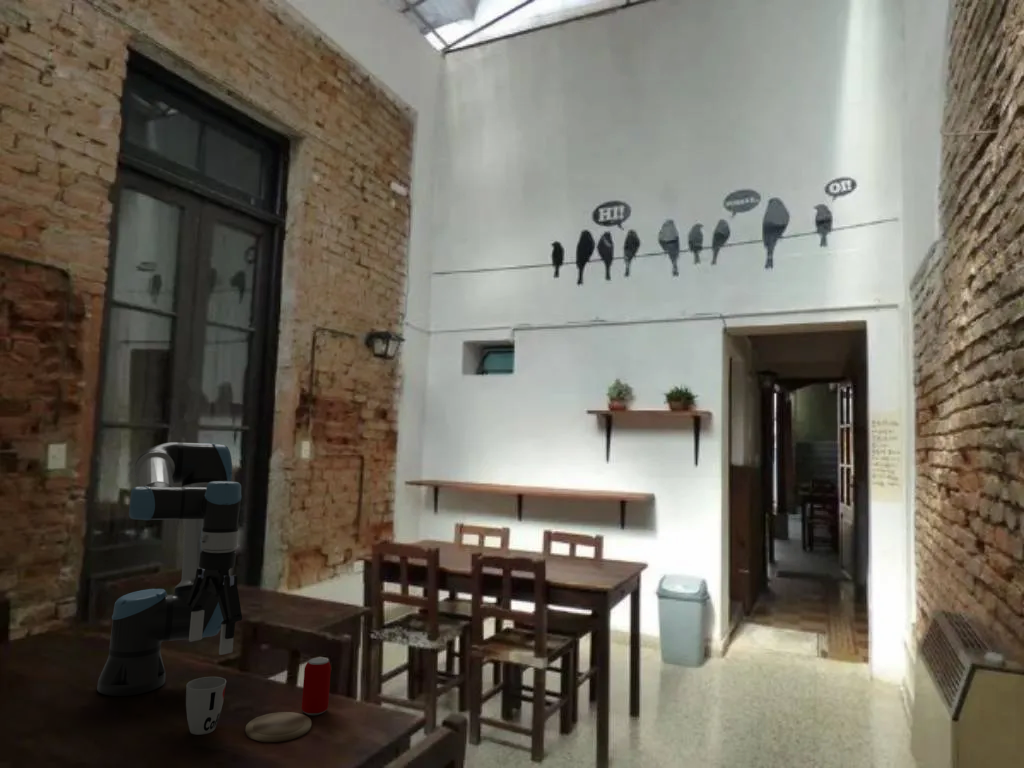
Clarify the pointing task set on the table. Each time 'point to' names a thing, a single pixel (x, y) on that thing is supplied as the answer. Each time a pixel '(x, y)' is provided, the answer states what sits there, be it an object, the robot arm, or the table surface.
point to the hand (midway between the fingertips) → (210, 646)
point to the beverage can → (316, 686)
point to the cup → (204, 703)
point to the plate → (278, 727)
